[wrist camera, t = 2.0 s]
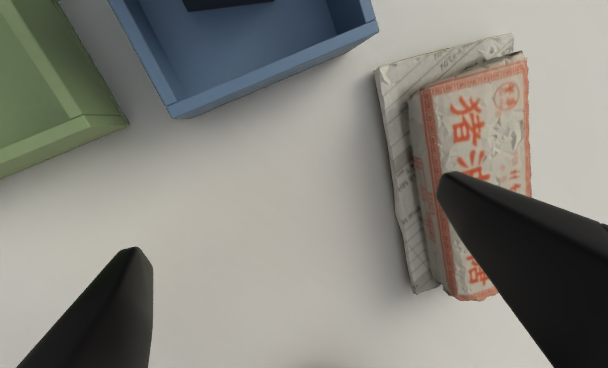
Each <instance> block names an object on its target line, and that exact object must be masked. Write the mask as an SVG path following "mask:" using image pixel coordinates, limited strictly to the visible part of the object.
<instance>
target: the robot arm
mask: <svg viewBox="0 0 608 368" xmlns="http://www.w3.org/2000/svg"><path fill="white" fill-rule="evenodd" d="M436 198H437V201H438V203H439V204H440V206H441V208H442V209H443V211H444V213H445V215H446V216H447V218H448V220H449V221H450V223H451V225H452V227H453V228H454V230H455V232H456V233H457V235H458V237H459V238H460V240H461V241H462V243H463V244H464V246H465V247H466V248H467V250H468V251H469V252H470V254H471V255H472V256H473V258H474V259H475V261H476V262H477V263H478V265H479V266H480V267H481V269H482V270H483V272H484V273H485V274H486V276H487V277H488V278H489V280H490V281H491V282H492V284H493V285H494V287H495V288H496V289H497V291H498V292H499V293H500V295H501V296H502V297H503V299H504V300H505V302H506V303H507V304H508V306H509V307H510V308H511V310H512V311H513V312H514V314H515V315H516V317H517V318H518V319H519V321H520V322H521V323H522V325H523V326H524V327H525V329H526V330H527V332H528V333H529V334H530V336H531V337H532V338H533V340H534V341H535V342H536V344H537V345H538V347H539V348H540V349H541V351H542V352H543V353H544V355H545V356H546V357H547V359H548V360H549V362H550V363H551V364H552V366H553V367H554V368H608V225H606V224H600V223H599V222H597V221H595V220H592V219H589V218H586V217H583V216H581V215H578V214H575V213H572V212H569V211H567V210H564V209H561V208H558V207H556V206H553V205H550V204H547V203H544V202H542V201H539V200H536V199H533V198H531V197H528V196H525V195H522V194H519V193H517V192H514V191H511V190H508V189H506V188H503V187H500V186H497V185H494V184H492V183H489V182H486V181H483V180H480V179H478V178H475V177H472V176H469V175H467V174H464V173H461V172H458V171H451V172H447V173H444V174H442V175H441V177H440V181H439V184H438V187H437V191H436ZM152 329H153V267H152V265H151V263H150V262H149V260H148V259H147V257H146V256H145V254H144V253H143V252H142V250H141V249H140V248H139V247H131V248H127V249H123V250H121V251H119V252H118V253H117V254H116V255H115V256H114V258H113V259H112V260H111V261H110V262H109V263H108V264H107V265H106V267H105V268H104V269H103V270H102V271H101V272H100V273H99V275H98V276H97V277H96V278H95V279H94V280H93V281H92V282H91V284H90V285H89V286H88V287H87V288H86V289H85V290H84V292H83V293H82V294H81V295H80V296H79V297H78V298H77V299H76V301H75V302H74V303H73V304H72V305H71V306H70V307H69V308H68V310H67V311H66V312H65V313H64V314H63V315H62V316H61V318H60V319H59V320H58V321H57V322H56V323H55V324H54V325H53V327H52V328H51V329H50V330H49V331H48V332H47V333H46V334H45V336H44V337H43V338H42V339H41V340H40V341H39V342H38V344H37V345H36V346H35V347H34V348H33V349H32V350H31V351H30V353H29V354H28V355H27V356H26V357H25V358H24V359H23V361H22V362H21V363H20V364H19V365H18V366H17V367H16V368H148V362H149V354H150V346H151V338H152Z"/></svg>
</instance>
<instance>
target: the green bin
mask: <svg viewBox="0 0 608 368" xmlns="http://www.w3.org/2000/svg"><path fill="white" fill-rule="evenodd" d="M126 126H129V122H128V121H127V119H126V117H125V116H124V114H123V112H122V111H121V109H120V107H119V106H118V104H117V102H116V100H115V99H114V97H113V95H112V94H111V92H110V90H109V89H108V87H107V85H106V84H105V82H104V80H103V79H102V77H101V75H100V73H99V72H98V70H97V68H96V67H95V65H94V63H93V62H92V60H91V58H90V57H89V55H88V53H87V52H86V50H85V48H84V47H83V45H82V43H81V41H80V40H79V38H78V36H77V35H76V33H75V31H74V30H73V28H72V26H71V25H70V23H69V21H68V20H67V18H66V16H65V14H64V13H63V11H62V9H61V8H60V6H59V4H58V3H57V1H56V0H0V179H2V178H4V177H6V176H9V175H11V174H14V173H16V172H18V171H21V170H23V169H26V168H28V167H30V166H33V165H35V164H38V163H40V162H42V161H45V160H47V159H50V158H52V157H54V156H57V155H59V154H62V153H64V152H66V151H69V150H71V149H74V148H76V147H78V146H81V145H83V144H86V143H88V142H90V141H93V140H95V139H98V138H100V137H102V136H105V135H107V134H110V133H112V132H114V131H117V130H119V129H122V128H124V127H126Z"/></svg>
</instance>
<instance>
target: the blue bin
mask: <svg viewBox="0 0 608 368" xmlns="http://www.w3.org/2000/svg"><path fill="white" fill-rule="evenodd" d="M108 2H109V4H110V5H111V7H112V9H113V11H114V13H115V15H116V16H117V18H118V20H119V22H120V24H121V26H122V28H123V29H124V31H125V33H126V35H127V37H128V39H129V40H130V42H131V44H132V46H133V48H134V50H135V51H136V53H137V55H138V57H139V59H140V61H141V62H142V64H143V66H144V68H145V70H146V72H147V73H148V75H149V77H150V79H151V81H152V83H153V85H154V86H155V88H156V90H157V92H158V94H159V96H160V97H161V99H162V101H163V103H164V105H165V106H167V107H166V109H167V110H168V112H169V114H170V116H171V118H172V119H189V118H193V117H195V116H198V115H200V114H202V113H205V112H207V111H210V110H212V109H214V108H217V107H219V106H221V105H224V104H226V103H228V102H231V101H233V100H236V99H238V98H240V97H243V96H245V95H247V94H250V93H252V92H254V91H257V90H259V89H261V88H264V87H266V86H269V85H271V84H273V83H276V82H278V81H280V80H283V79H285V78H287V77H290V76H292V75H295V74H297V73H299V72H302V71H304V70H306V69H309V68H311V67H313V66H316V65H318V64H320V63H323V62H325V61H328V60H330V59H332V58H335V57H337V56H339V55H342V54H344V53H346V52H348V51H350V50H352V49H353V48H355V47H356V46H358V45H359V44H361V43H362V42H364V41H366V40H367V39H369V38H370V37H372V36H373V35H375V34H376V33H378V32H379V28H378V24H377V21H376V20H375V19H376V17H375V14H374V10H373V7H372V4H371V0H274V2H267V3H258V4H250V5H242V6H234V7H226V8H218V9H209V10H201V11H193V12H188V11H187V10H186V8H185V6H184V4H183V2H182V0H108Z"/></svg>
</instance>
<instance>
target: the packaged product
mask: <svg viewBox="0 0 608 368" xmlns="http://www.w3.org/2000/svg"><path fill="white" fill-rule="evenodd" d="M513 44H514V35H513V34H512V33H510V34H506V35H501V36H496V37H492V38H487V39H483V40H480V41H477V42H473V43H470V44H466V45H463V46H458V47H453V48H448V49H444V50H439V51H435V52H431V53H427V54H423V55H420V56H416V57H412V58H408V59H404V60H401V61H398V62H395V63H392V64H389V65H386V66H382V67H379V68H377V69H376V70H375V71H374V75H375V81H376V86H377V91H378V96H379V102H380V107H381V112H382V118H383V123H384V128H385V133H386V138H387V143H388V151H389V158H390V165H391V172H392V180H393V187H394V202H395V215H396V217H397V220H398V223H399V226H400V229H401V232H402V235H403V240H404V247H405V254H406V260H407V265H408V271H409V276H410V281H411V286H412V290H413V293H414V294H416V295H417V294H419V293H422V292H424V291H427V290H430V289H433V288H436V287H438V286H440V285H441V284H442V285H443V290H444V291H445V292H446V293H447V294H448V295H449V296H454V297H455V298H456V299H458V300H460V301H470V300H474V301H483V300H485V299H486V297H489V296H494V295H495V294H497V293H499V292H498V291H497V289H496V288H495V287H494V285H493V284H492V282H491V281H490V280H489V278H488V277H487V276H486V274H485V273H484V272H483V270H482V269H481V267H480V266H479V265H478V263H477V262H476V261H475V259H474V258H473V256H472V255H471V254H470V252H469V251H468V250H467V248H466V247H465V246H464V244H463V243H462V241H461V240H460V238H459V237H458V235H457V233H456V232H455V230H454V228H453V227H452V225H451V223H450V221H449V220H448V218H447V216H446V215H445V213H444V211H443V209H442V208H441V206H440V204H439V203H438V201H437V198H436V191H437V187H438V184H439V181H440V177H441V175H442V174H444V173H447V172H451V171H458V172H461V173H464V174H467V175H469V176H472V177H475V178H478V179H480V180H483V181H486V182H489V183H492V184H494V185H497V186H500V187H503V188H506V189H508V190H511V191H514V192H517V193H519V194H522V195H525V196H528V197H531V182H530V180H531V166H530V144H529V104H528V89H529V81H528V66H527V58H526V56H525V55H524V54H523V52H522V51H518V52H514V50H513Z"/></svg>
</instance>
